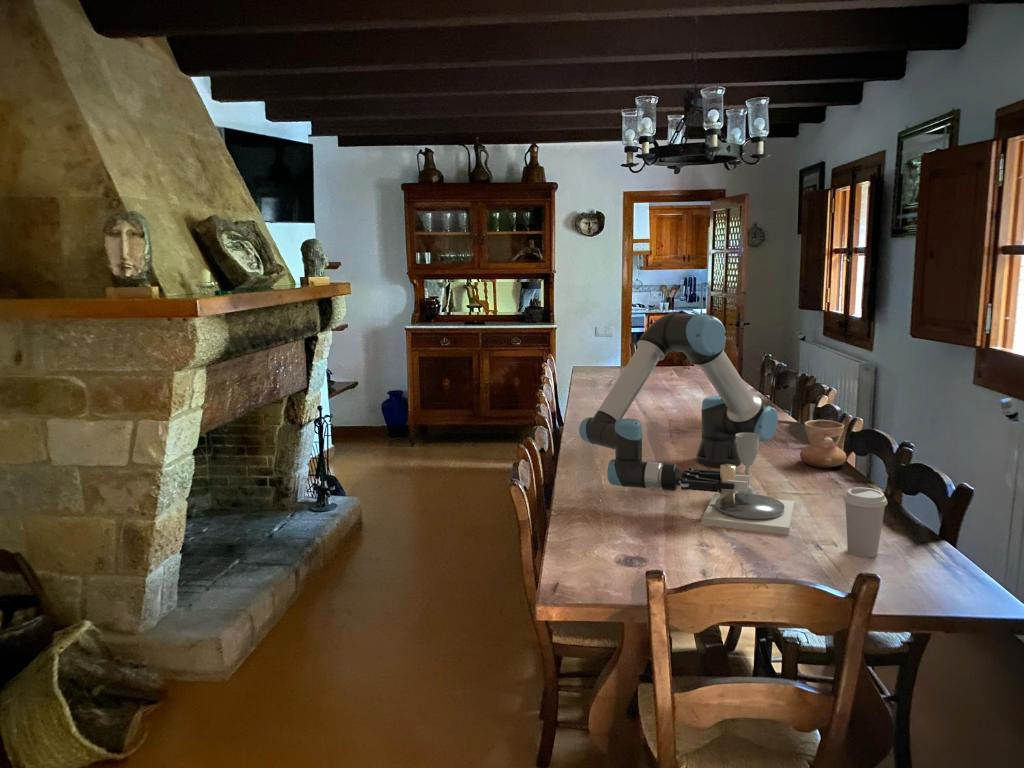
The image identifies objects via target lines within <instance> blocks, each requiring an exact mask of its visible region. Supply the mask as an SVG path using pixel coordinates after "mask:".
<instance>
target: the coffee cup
mask: <svg viewBox="0 0 1024 768" xmlns="http://www.w3.org/2000/svg"><path fill="white" fill-rule="evenodd" d="M842 500H843V501H844V503H845V521H846V540H847V541H846V542H847V543H846V545H847V552H848V553H849V554H850V555H852V556H855V557H858V558H859V557H860V558H867V559H870V558H875V557H877V556H878V554H879V553H878V552H879V546H880V545H879V544H880V540H881V534H882V526H883V522H884V521H883V520H884V515H885V508H886V506H887V505H888V499H887V498H886V496H885V493H884V492H883V491H881V490H879V489H875V488H870V487H862V486H861V487H850V488H848V489H847V490H846V493H845V494H844V495H843V497H842Z"/></svg>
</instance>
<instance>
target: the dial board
mask: <svg viewBox="0 0 1024 768" xmlns="http://www.w3.org/2000/svg"><path fill="white" fill-rule="evenodd" d="M718 498H720V493H717V492H714V494H713V496H712V499H710V502H709V504H708V506H707V507H706V510H705V512H704V513H703V516H702V517H701V526H704V527H705V526H707V527H713V526H716V527H715V528H722V527H725V528H724V529H731V528H733V530H740V529H741V531H742V530H743V531H751V532H759V533H760V532H761V533H766V534H767V533H768V534H774V535H775V534H776V535H777V534H778V535H786V536H789V535H790V532H791V526H792V521H793V517H794V511H795V503H796V502H795V500H788V499H778V498H775V499H776V500H779V501H780V502H782V503H783V504H784V513H783V514H782V515H781V516H779V517H776V518H772V519H764V520H750V519H741V518H735V517H731V516H728V515H725V514H723V513H721V512H719V511H718V510H717V509H716V500H717V499H718Z"/></svg>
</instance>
